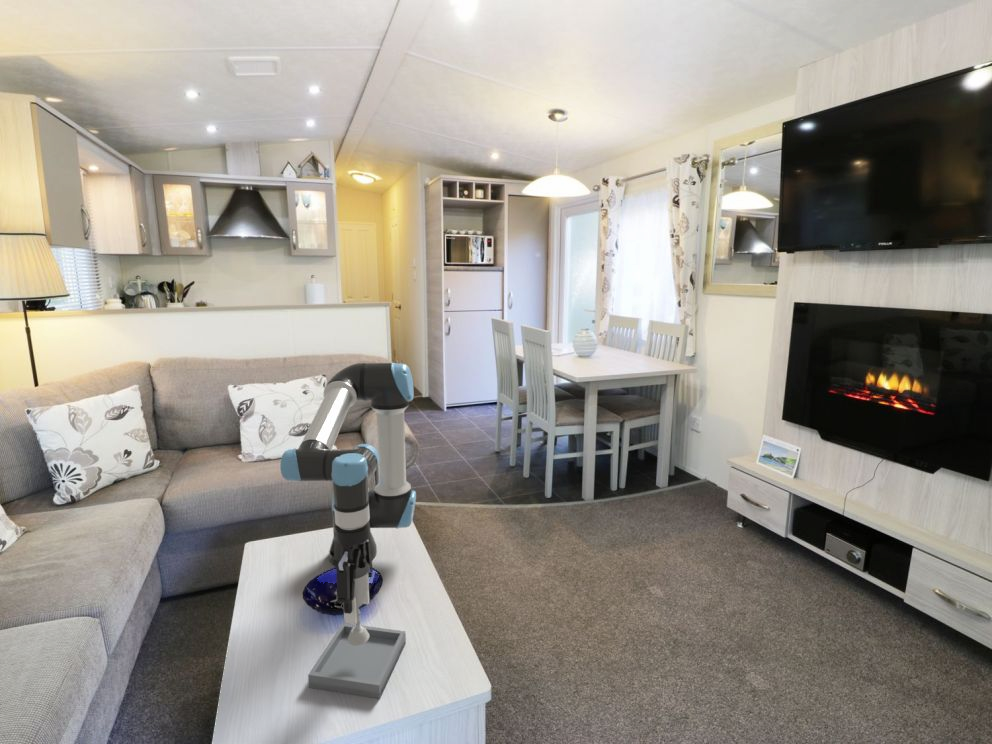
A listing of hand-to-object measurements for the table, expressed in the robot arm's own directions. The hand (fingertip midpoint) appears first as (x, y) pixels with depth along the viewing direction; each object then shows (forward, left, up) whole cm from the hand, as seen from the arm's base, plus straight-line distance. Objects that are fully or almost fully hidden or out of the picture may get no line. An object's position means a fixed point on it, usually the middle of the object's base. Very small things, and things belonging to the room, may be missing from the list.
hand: (357, 612), depth 118 cm
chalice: (0, 0, -7) cm, 7 cm away
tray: (0, 0, -14) cm, 14 cm away
